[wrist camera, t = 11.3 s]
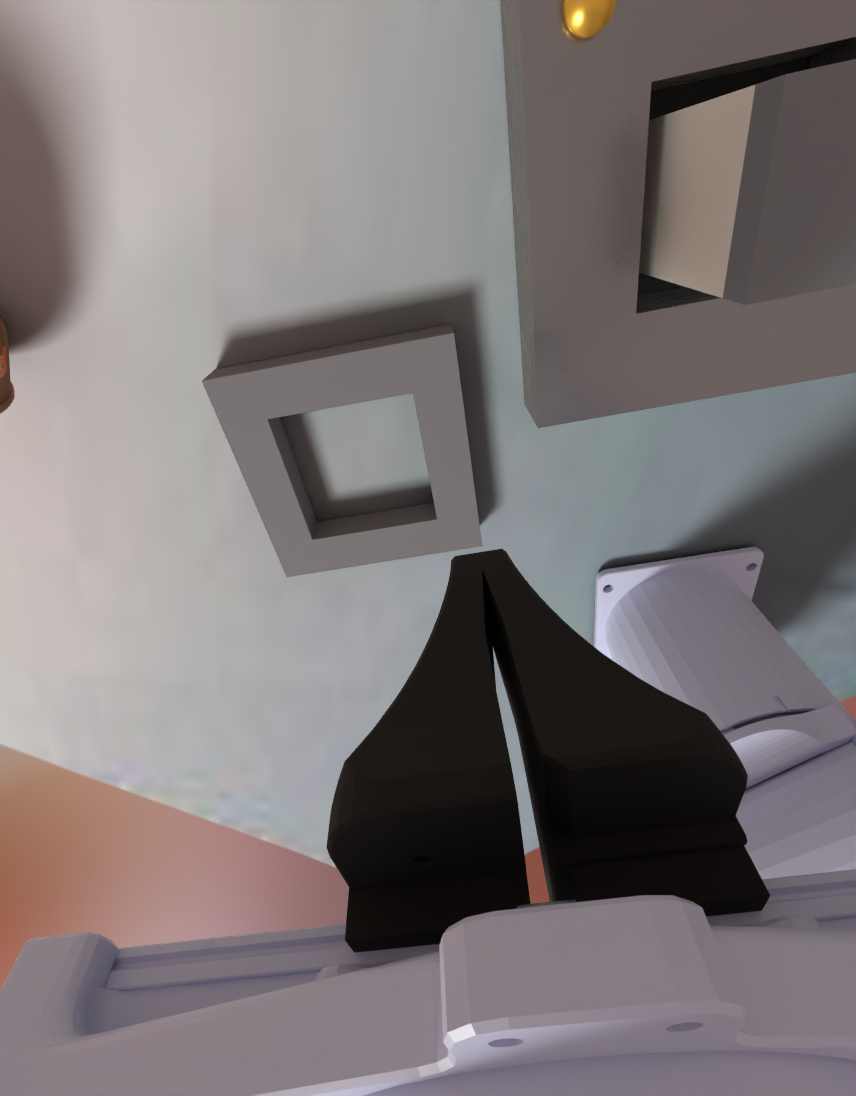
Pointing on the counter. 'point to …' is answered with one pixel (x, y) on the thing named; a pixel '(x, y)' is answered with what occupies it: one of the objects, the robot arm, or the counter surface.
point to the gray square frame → (335, 380)
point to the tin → (5, 371)
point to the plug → (756, 189)
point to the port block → (617, 205)
